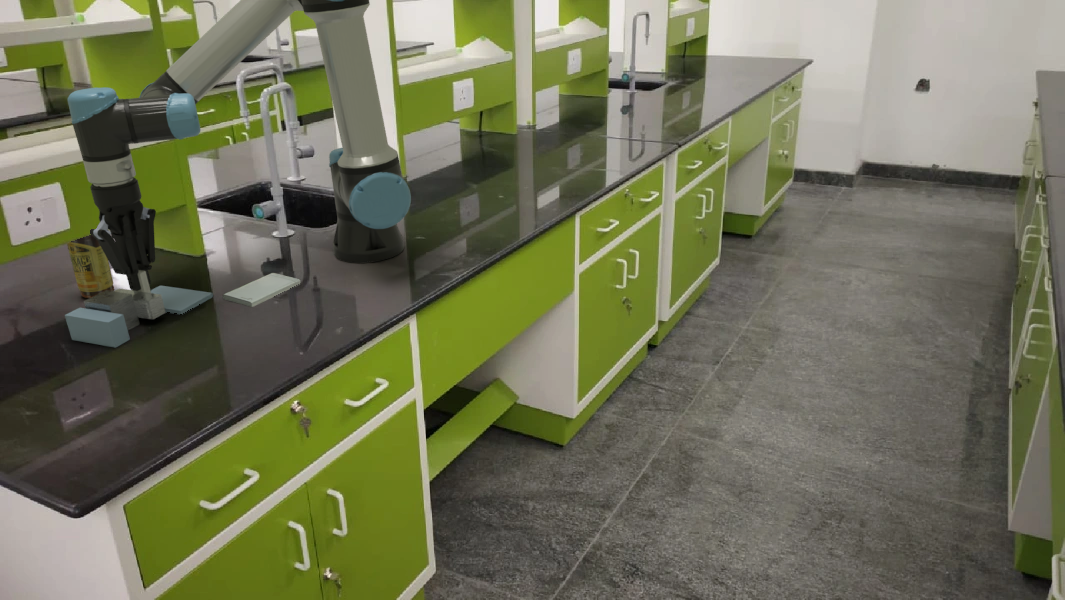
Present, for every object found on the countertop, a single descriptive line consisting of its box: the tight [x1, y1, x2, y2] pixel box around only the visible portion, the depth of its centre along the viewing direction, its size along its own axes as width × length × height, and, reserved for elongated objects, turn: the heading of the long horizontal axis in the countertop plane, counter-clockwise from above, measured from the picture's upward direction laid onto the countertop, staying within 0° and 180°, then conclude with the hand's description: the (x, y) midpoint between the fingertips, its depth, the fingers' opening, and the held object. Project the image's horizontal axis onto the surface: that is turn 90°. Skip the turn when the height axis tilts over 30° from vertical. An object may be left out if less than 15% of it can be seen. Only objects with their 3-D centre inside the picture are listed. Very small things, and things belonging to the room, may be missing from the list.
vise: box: [64, 284, 214, 348], centre depth 149 cm, size 13×23×5 cm, turn 159°
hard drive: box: [222, 272, 301, 308], centre depth 159 cm, size 2×8×12 cm
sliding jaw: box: [113, 288, 167, 320], centre depth 148 cm, size 14×3×4 cm, turn 69°
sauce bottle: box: [66, 235, 115, 299], centre depth 156 cm, size 7×6×20 cm
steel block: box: [83, 290, 140, 331], centre depth 144 cm, size 6×5×6 cm
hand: (145, 303), depth 150 cm, fingers closed
